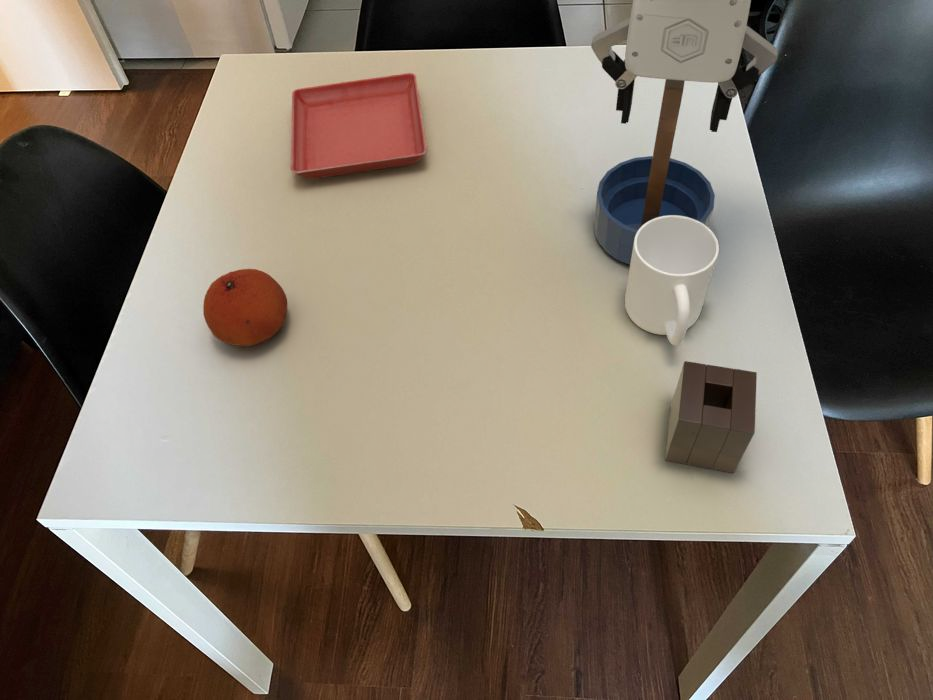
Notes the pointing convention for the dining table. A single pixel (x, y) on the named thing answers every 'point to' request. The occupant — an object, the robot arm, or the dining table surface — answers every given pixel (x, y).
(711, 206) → the bowl
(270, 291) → the fruit
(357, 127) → the plant saucer
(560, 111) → the dining table surface
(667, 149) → the stick
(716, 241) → the cup
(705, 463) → the stand
